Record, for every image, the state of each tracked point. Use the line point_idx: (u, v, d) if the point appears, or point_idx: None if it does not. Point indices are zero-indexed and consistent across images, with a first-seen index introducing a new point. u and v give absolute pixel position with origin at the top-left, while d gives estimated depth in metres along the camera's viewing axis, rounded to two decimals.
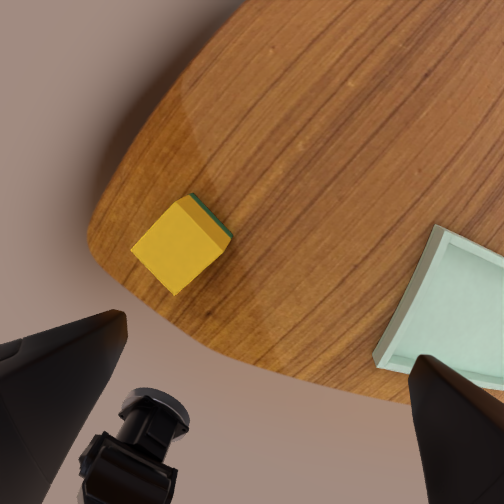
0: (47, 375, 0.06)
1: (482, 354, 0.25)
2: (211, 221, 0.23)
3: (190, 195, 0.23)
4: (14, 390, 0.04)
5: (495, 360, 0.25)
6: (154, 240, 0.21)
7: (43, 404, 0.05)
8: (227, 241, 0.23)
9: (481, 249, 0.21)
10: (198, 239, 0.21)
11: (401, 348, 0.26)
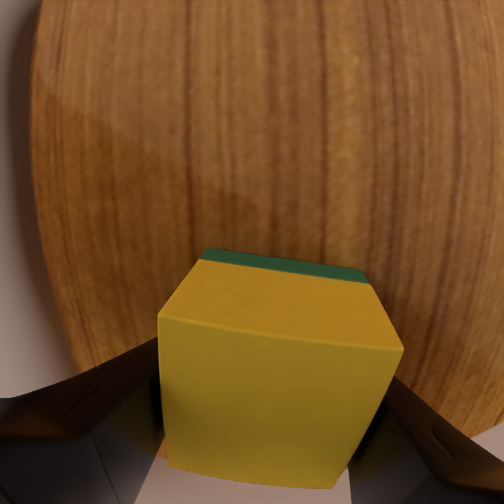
0: (136, 407, 0.05)
1: None
2: (299, 282, 0.08)
3: (203, 257, 0.08)
4: (106, 431, 0.04)
5: None
6: (194, 433, 0.06)
7: (130, 438, 0.05)
8: (375, 301, 0.07)
9: None
10: (309, 371, 0.06)
11: None
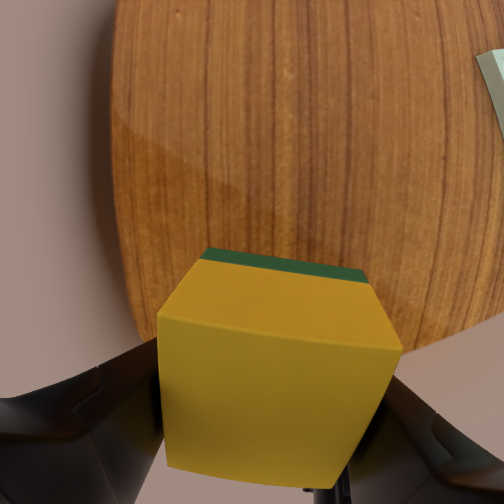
0: (136, 407, 0.05)
1: None
2: (299, 281, 0.08)
3: (203, 257, 0.08)
4: (106, 431, 0.04)
5: None
6: (194, 432, 0.06)
7: (130, 438, 0.05)
8: (374, 300, 0.07)
9: None
10: (308, 370, 0.06)
11: None
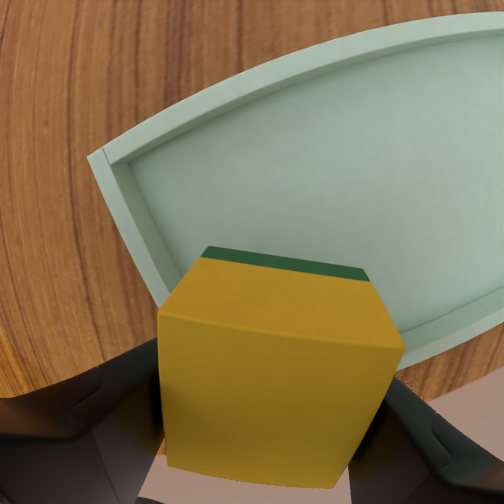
0: (136, 407, 0.05)
1: (466, 258, 0.12)
2: (300, 280, 0.08)
3: (203, 255, 0.08)
4: (107, 431, 0.04)
5: None
6: (195, 432, 0.06)
7: (130, 438, 0.05)
8: (376, 299, 0.07)
9: (181, 105, 0.10)
10: (310, 369, 0.05)
11: None
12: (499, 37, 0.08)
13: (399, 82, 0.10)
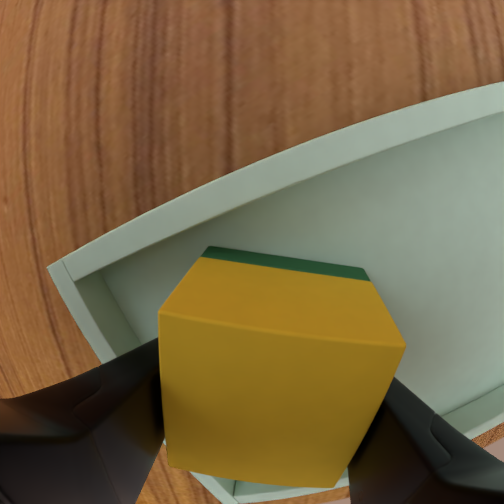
0: (137, 407, 0.05)
1: (483, 359, 0.10)
2: (300, 279, 0.08)
3: (204, 255, 0.08)
4: (108, 432, 0.04)
5: None
6: (196, 431, 0.06)
7: (131, 439, 0.05)
8: (376, 298, 0.07)
9: (150, 217, 0.08)
10: (311, 368, 0.05)
11: None
12: None
13: (436, 169, 0.08)
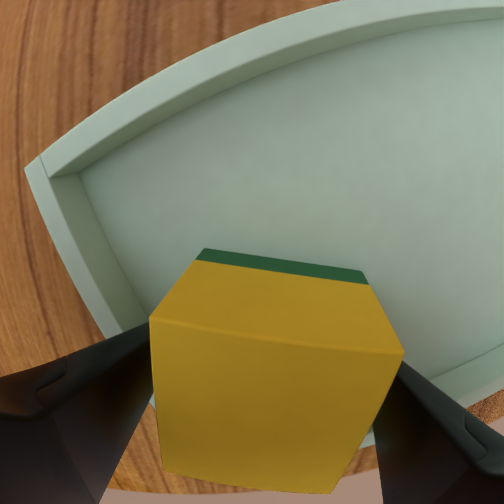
0: (100, 395, 0.05)
1: None
2: (297, 283, 0.07)
3: (199, 258, 0.08)
4: (68, 416, 0.04)
5: None
6: (189, 437, 0.06)
7: (95, 426, 0.05)
8: (374, 302, 0.07)
9: (132, 92, 0.06)
10: (306, 375, 0.05)
11: None
12: None
13: (433, 64, 0.07)
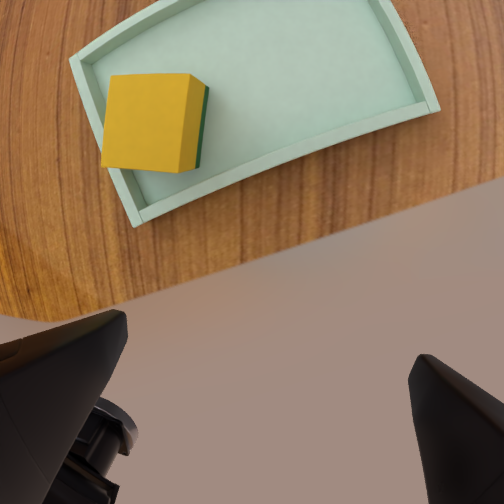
0: (47, 375, 0.06)
1: (306, 99, 0.17)
2: None
3: None
4: (14, 390, 0.04)
5: (348, 90, 0.17)
6: (115, 130, 0.15)
7: (43, 404, 0.05)
8: None
9: (117, 26, 0.15)
10: (156, 86, 0.14)
11: (162, 186, 0.19)
12: None
13: (243, 0, 0.15)
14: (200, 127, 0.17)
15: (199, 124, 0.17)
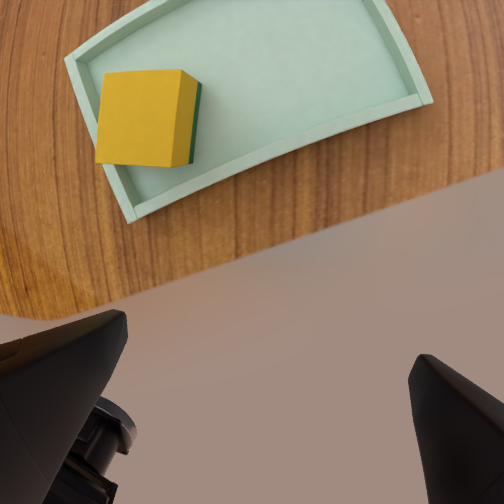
0: (47, 375, 0.06)
1: (298, 93, 0.17)
2: None
3: None
4: (14, 390, 0.04)
5: (340, 84, 0.17)
6: (109, 127, 0.15)
7: (43, 404, 0.05)
8: None
9: (111, 25, 0.15)
10: (148, 82, 0.14)
11: (156, 182, 0.19)
12: None
13: None
14: (193, 123, 0.17)
15: (192, 120, 0.17)
